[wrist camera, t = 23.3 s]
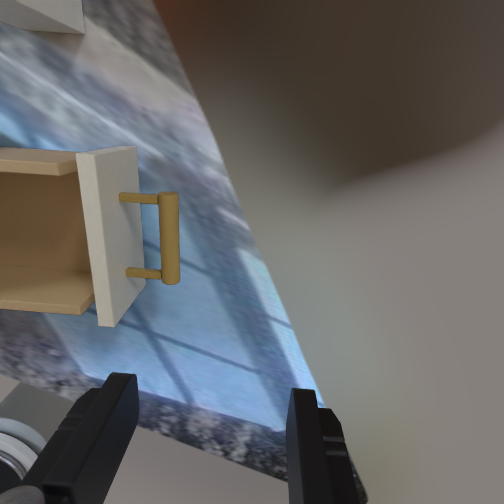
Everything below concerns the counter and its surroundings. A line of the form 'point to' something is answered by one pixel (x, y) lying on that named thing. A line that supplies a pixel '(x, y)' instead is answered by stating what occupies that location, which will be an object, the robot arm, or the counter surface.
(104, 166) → the drawer
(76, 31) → the white tall square block
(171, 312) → the counter surface
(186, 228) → the counter surface
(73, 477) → the robot arm
